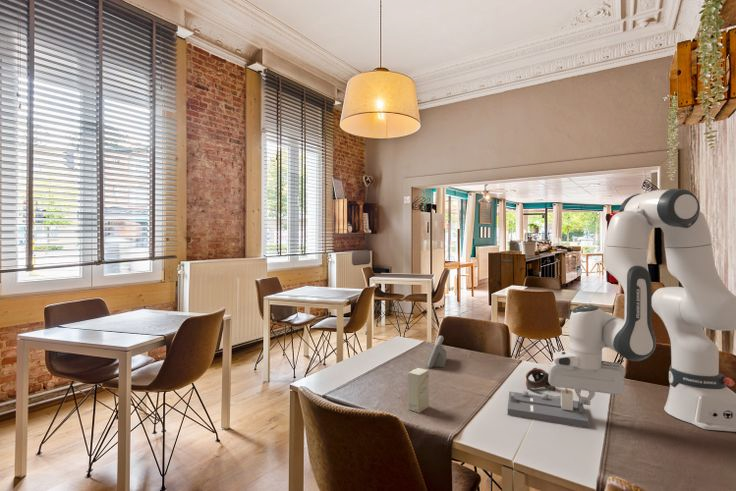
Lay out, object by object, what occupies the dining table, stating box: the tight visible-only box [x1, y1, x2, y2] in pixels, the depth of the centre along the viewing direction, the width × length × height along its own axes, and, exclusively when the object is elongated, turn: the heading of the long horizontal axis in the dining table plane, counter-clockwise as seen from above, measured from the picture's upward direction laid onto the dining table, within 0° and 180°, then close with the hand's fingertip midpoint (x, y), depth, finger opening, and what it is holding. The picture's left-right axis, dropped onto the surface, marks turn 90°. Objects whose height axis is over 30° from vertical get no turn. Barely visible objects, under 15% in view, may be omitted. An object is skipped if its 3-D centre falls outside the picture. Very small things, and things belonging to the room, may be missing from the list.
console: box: [507, 390, 589, 429], centre depth 121 cm, size 22×14×4 cm, turn 67°
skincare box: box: [407, 367, 430, 414], centre depth 124 cm, size 6×4×12 cm
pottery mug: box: [525, 367, 556, 392], centre depth 140 cm, size 12×10×8 cm
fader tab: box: [560, 387, 574, 411], centre depth 119 cm, size 3×4×5 cm
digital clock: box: [426, 335, 447, 369], centre depth 167 cm, size 16×9×11 cm, turn 151°
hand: (584, 403), depth 117 cm, fingers closed
